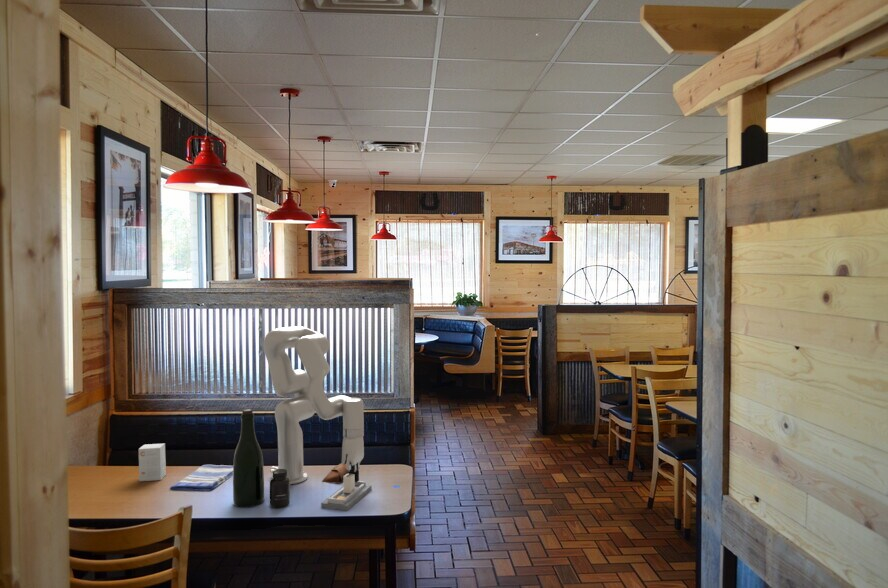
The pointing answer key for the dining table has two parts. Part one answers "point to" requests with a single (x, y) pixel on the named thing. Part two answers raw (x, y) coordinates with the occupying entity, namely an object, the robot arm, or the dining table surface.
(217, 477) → the dish towel
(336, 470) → the sunglasses case
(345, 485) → the fader knob
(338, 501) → the fader console
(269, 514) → the dining table surface
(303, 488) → the dining table surface
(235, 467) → the beer bottle
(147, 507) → the dining table surface
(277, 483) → the supplement bottle
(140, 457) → the small box
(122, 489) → the dining table surface
